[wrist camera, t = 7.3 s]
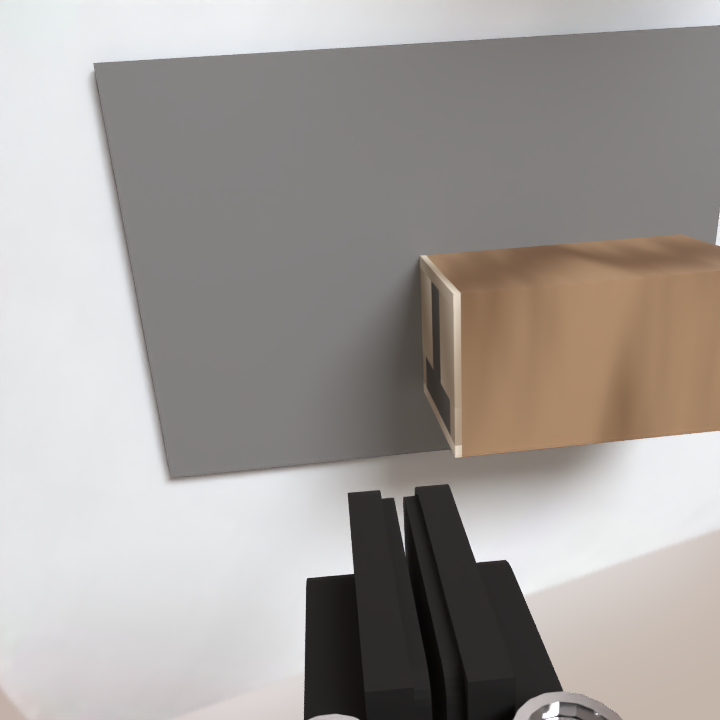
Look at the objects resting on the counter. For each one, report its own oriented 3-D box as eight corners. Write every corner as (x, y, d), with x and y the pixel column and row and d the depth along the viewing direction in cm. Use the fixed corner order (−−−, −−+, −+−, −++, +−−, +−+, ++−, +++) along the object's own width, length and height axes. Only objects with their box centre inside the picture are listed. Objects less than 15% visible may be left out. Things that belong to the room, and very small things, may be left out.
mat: (735, 25, 21) (743, 24, 21) (686, 419, 26) (692, 424, 26) (96, 63, 20) (93, 63, 20) (172, 472, 25) (171, 477, 25)
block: (420, 255, 23) (681, 234, 23) (424, 390, 24) (666, 367, 25) (453, 293, 18) (779, 265, 18) (455, 458, 20) (752, 427, 20)
